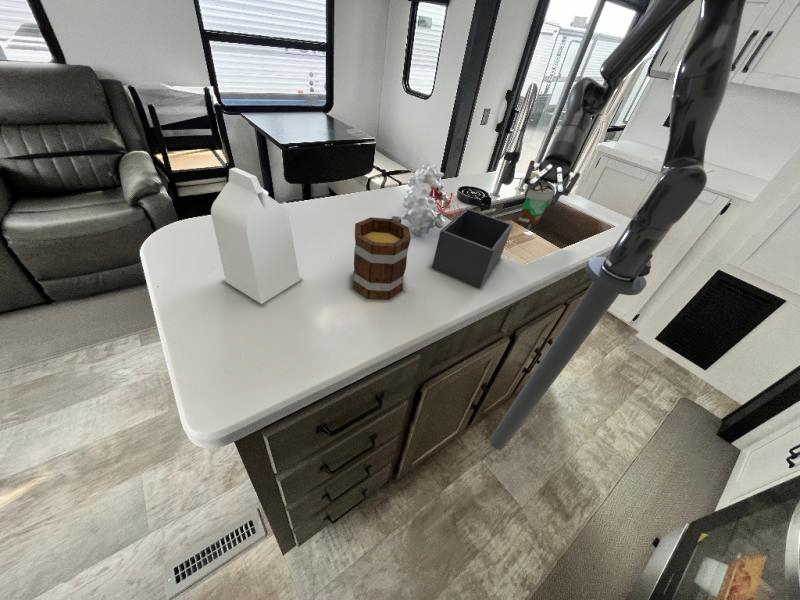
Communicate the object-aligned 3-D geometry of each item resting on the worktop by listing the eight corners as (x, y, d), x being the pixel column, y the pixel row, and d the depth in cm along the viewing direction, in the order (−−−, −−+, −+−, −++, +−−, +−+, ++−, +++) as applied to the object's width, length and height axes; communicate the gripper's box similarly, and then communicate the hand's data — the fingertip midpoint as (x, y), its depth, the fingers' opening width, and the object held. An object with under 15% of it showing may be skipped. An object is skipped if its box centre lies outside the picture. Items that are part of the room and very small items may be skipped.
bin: (499, 258, 99) (513, 224, 91) (479, 288, 86) (493, 251, 78) (456, 241, 103) (466, 207, 96) (431, 267, 90) (440, 230, 83)
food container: (536, 231, 89) (551, 197, 83) (515, 224, 91) (528, 189, 85) (546, 216, 98) (561, 184, 91) (527, 210, 100) (539, 178, 93)
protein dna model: (449, 246, 115) (436, 184, 120) (476, 222, 98) (459, 151, 103) (397, 248, 108) (386, 182, 113) (417, 222, 91) (402, 147, 97)
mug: (394, 306, 76) (402, 253, 66) (342, 290, 78) (342, 237, 68) (415, 264, 91) (424, 215, 81) (371, 251, 93) (374, 202, 83)
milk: (226, 282, 75) (193, 170, 58) (265, 261, 83) (247, 157, 66) (261, 304, 71) (237, 190, 54) (299, 280, 79) (289, 174, 62)
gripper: (540, 133, 88) (514, 187, 88) (595, 146, 84) (568, 203, 83) (537, 150, 96) (513, 200, 95) (587, 163, 91) (562, 215, 90)
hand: (538, 201), depth 89 cm, fingers closed on food container, 6 cm apart
